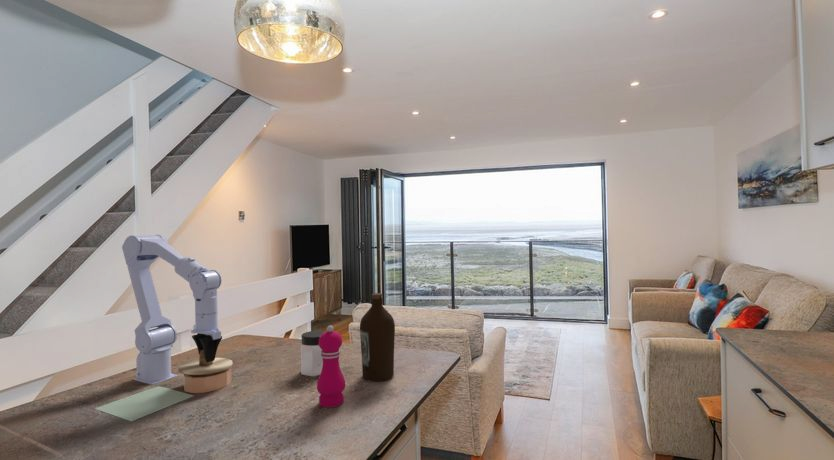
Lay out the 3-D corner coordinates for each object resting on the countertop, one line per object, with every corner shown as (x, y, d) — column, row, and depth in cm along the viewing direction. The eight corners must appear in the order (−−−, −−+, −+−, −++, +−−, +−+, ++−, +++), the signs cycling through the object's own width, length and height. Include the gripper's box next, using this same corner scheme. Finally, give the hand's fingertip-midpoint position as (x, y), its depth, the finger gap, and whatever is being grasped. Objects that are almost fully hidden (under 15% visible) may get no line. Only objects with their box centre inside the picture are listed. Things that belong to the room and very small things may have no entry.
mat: (94, 410, 104) (94, 408, 104) (158, 387, 118) (158, 386, 118) (131, 423, 97) (131, 421, 97) (194, 397, 111) (194, 395, 111)
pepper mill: (350, 398, 109) (349, 323, 109) (336, 410, 102) (335, 329, 102) (326, 395, 111) (325, 321, 111) (311, 406, 104) (310, 327, 104)
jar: (305, 378, 124) (304, 339, 123) (297, 371, 130) (296, 333, 130) (333, 372, 128) (333, 334, 128) (324, 365, 135) (323, 329, 135)
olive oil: (389, 367, 132) (387, 290, 132) (400, 379, 122) (399, 295, 122) (356, 373, 128) (355, 292, 127) (366, 385, 118) (364, 298, 118)
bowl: (174, 389, 117) (174, 374, 116) (212, 375, 127) (212, 361, 127) (202, 397, 111) (202, 380, 111) (239, 381, 122) (239, 366, 122)
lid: (166, 369, 116) (167, 352, 116) (210, 357, 128) (211, 342, 128) (200, 377, 109) (200, 359, 110) (243, 364, 122) (243, 348, 122)
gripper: (182, 312, 121) (183, 358, 121) (201, 318, 111) (202, 368, 111) (207, 308, 126) (208, 352, 126) (228, 314, 116) (229, 362, 117)
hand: (207, 359), depth 119 cm, fingers closed on lid, 3 cm apart
